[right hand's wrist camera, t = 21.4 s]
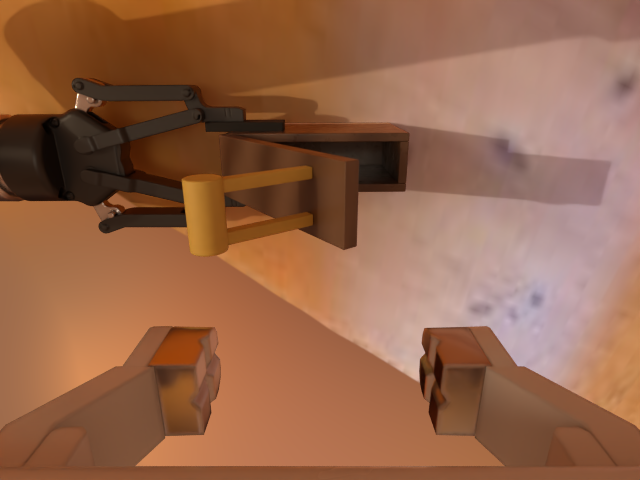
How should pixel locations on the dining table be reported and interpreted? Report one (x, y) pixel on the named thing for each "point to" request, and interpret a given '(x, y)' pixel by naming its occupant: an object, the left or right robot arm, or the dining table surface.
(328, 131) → the chest
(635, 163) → the dining table surface
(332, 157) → the lid
